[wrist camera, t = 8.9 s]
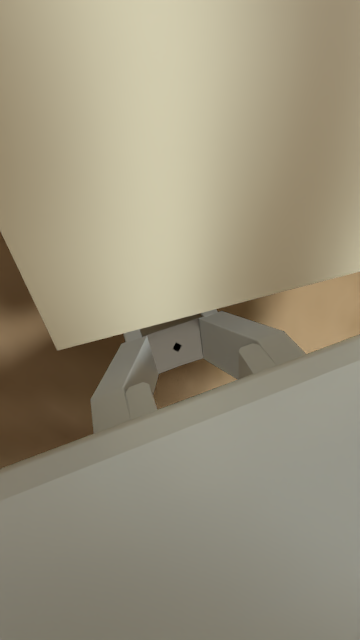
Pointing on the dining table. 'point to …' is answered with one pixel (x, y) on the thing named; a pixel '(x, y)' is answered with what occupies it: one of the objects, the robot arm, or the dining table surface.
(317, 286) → the dining table surface
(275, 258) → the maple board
